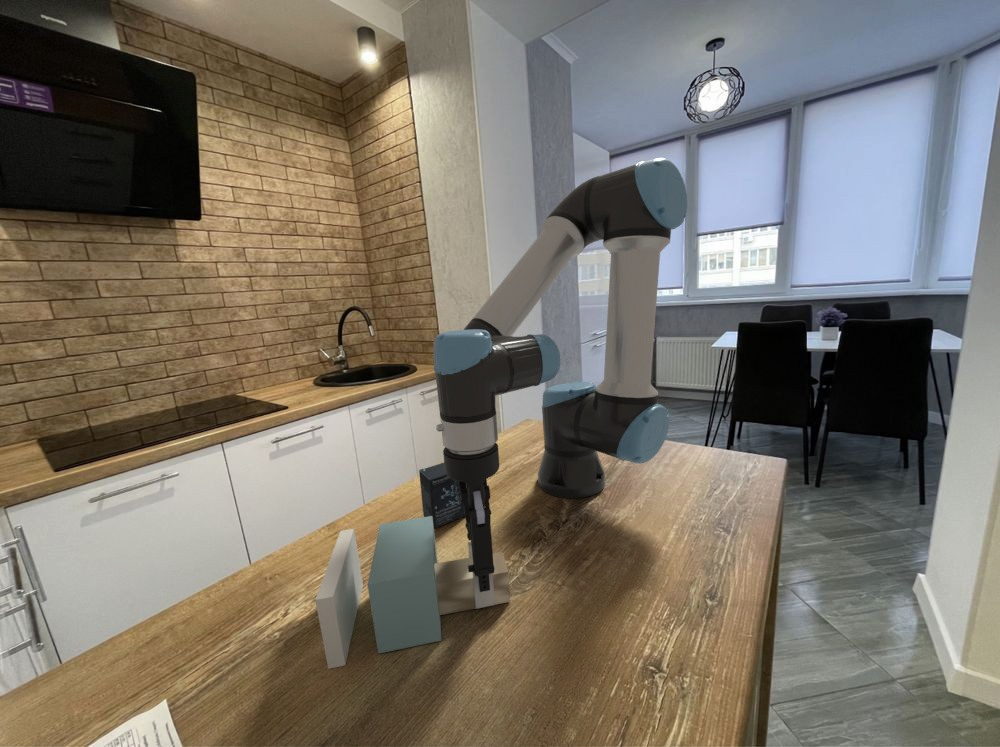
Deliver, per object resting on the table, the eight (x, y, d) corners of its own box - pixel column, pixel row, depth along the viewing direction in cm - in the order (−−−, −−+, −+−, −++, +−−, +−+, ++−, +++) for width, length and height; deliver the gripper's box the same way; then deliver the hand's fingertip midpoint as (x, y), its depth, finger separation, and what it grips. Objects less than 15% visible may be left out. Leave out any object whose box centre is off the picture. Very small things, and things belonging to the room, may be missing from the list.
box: (434, 530, 75) (429, 479, 73) (423, 517, 80) (417, 469, 78) (470, 515, 80) (465, 467, 77) (457, 503, 84) (453, 458, 82)
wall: (362, 584, 62) (354, 528, 60) (345, 665, 49) (333, 596, 47) (349, 587, 62) (340, 530, 60) (328, 669, 48) (315, 599, 46)
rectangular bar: (504, 580, 61) (502, 552, 60) (509, 601, 57) (508, 571, 56) (398, 599, 58) (395, 570, 57) (396, 623, 54) (392, 592, 53)
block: (438, 572, 64) (432, 515, 61) (441, 640, 51) (433, 572, 49) (388, 581, 62) (379, 524, 60) (378, 653, 50) (367, 584, 48)
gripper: (440, 426, 61) (453, 558, 66) (446, 476, 44) (462, 648, 49) (487, 421, 62) (496, 550, 67) (510, 467, 46) (520, 635, 50)
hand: (482, 591), depth 58 cm, fingers closed on rectangular bar, 4 cm apart
